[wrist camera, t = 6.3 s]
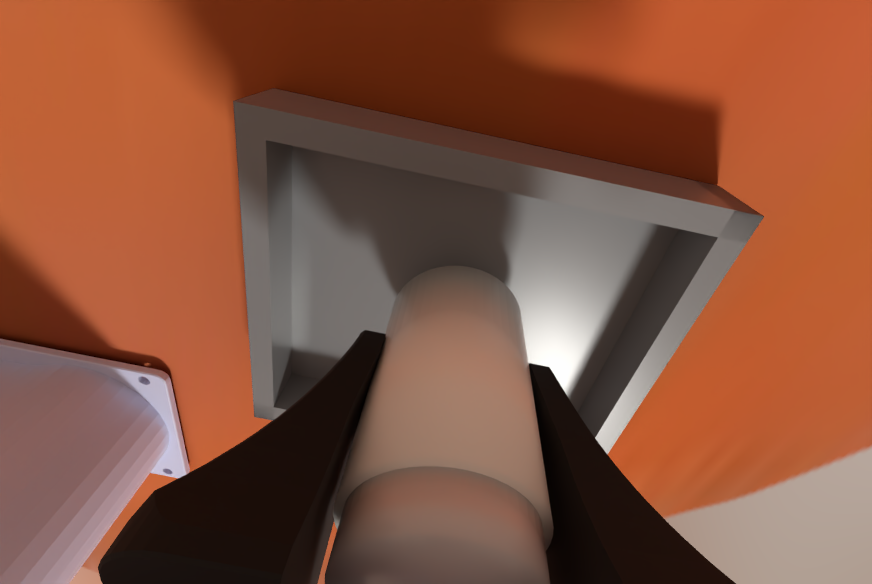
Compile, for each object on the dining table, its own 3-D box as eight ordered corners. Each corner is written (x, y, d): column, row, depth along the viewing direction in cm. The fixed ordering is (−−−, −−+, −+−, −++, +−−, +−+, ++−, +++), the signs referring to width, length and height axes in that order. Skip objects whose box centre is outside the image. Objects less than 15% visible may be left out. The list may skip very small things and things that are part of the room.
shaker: (389, 362, 16) (319, 630, 9) (394, 257, 13) (305, 510, 6) (507, 378, 16) (532, 660, 9) (534, 274, 13) (597, 550, 6)
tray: (278, 373, 19) (254, 416, 17) (273, 88, 13) (233, 100, 11) (577, 432, 20) (588, 481, 18) (718, 185, 13) (764, 216, 11)
